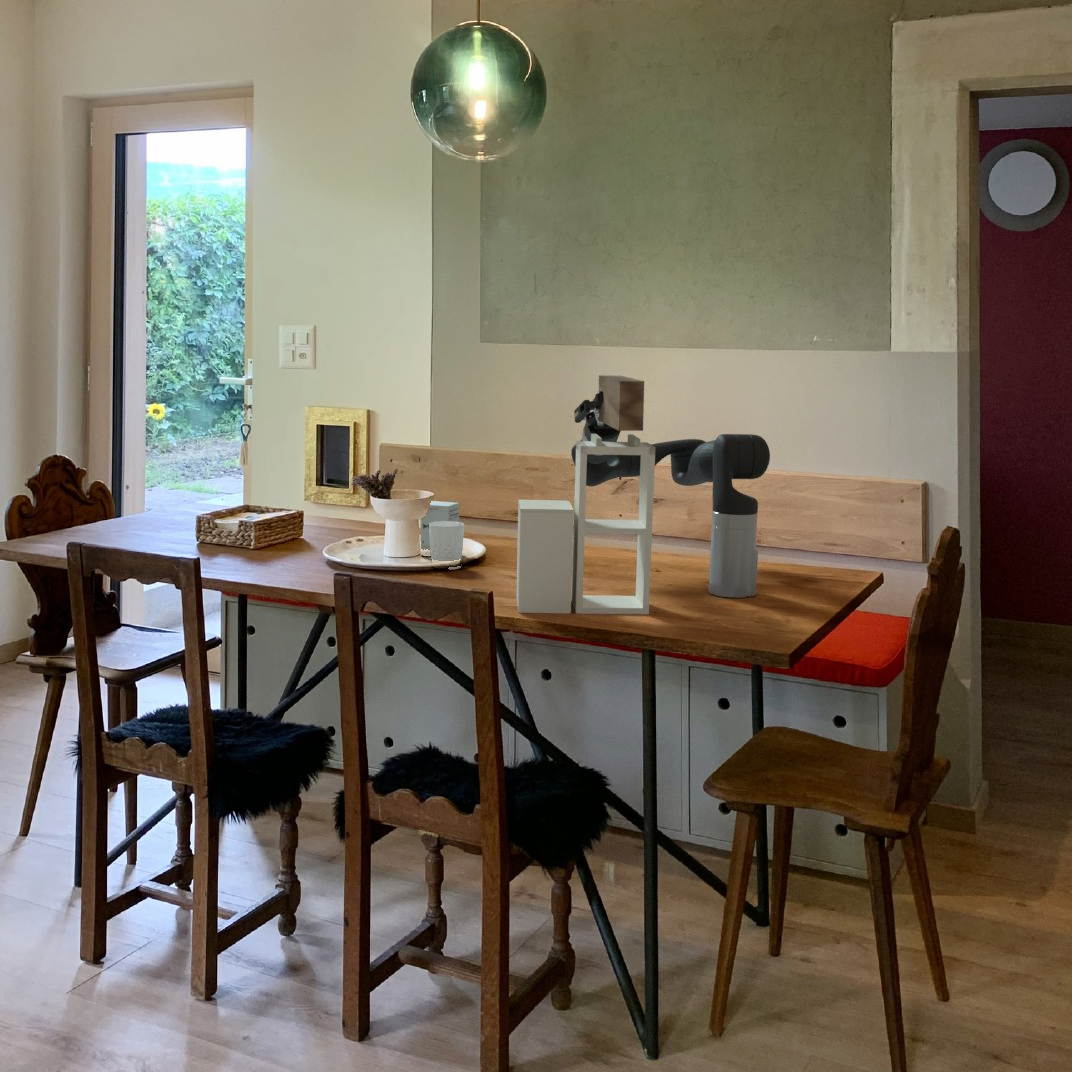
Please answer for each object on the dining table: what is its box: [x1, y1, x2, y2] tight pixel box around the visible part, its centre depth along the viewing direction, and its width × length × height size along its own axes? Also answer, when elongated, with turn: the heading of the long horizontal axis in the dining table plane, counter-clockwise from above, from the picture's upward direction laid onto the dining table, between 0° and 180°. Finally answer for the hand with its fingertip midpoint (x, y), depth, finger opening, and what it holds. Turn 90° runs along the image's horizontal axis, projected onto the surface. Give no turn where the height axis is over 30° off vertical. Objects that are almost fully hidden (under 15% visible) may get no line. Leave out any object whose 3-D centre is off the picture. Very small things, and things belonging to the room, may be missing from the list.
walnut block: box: [598, 374, 645, 432], centre depth 230 cm, size 4×24×9 cm, turn 6°
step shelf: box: [516, 433, 656, 615], centre depth 232 cm, size 25×13×34 cm, turn 93°
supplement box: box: [420, 500, 460, 550], centre depth 285 cm, size 7×7×13 cm
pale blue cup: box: [429, 521, 465, 571], centre depth 270 cm, size 8×8×10 cm
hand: (614, 395), depth 236 cm, fingers closed on walnut block, 4 cm apart
